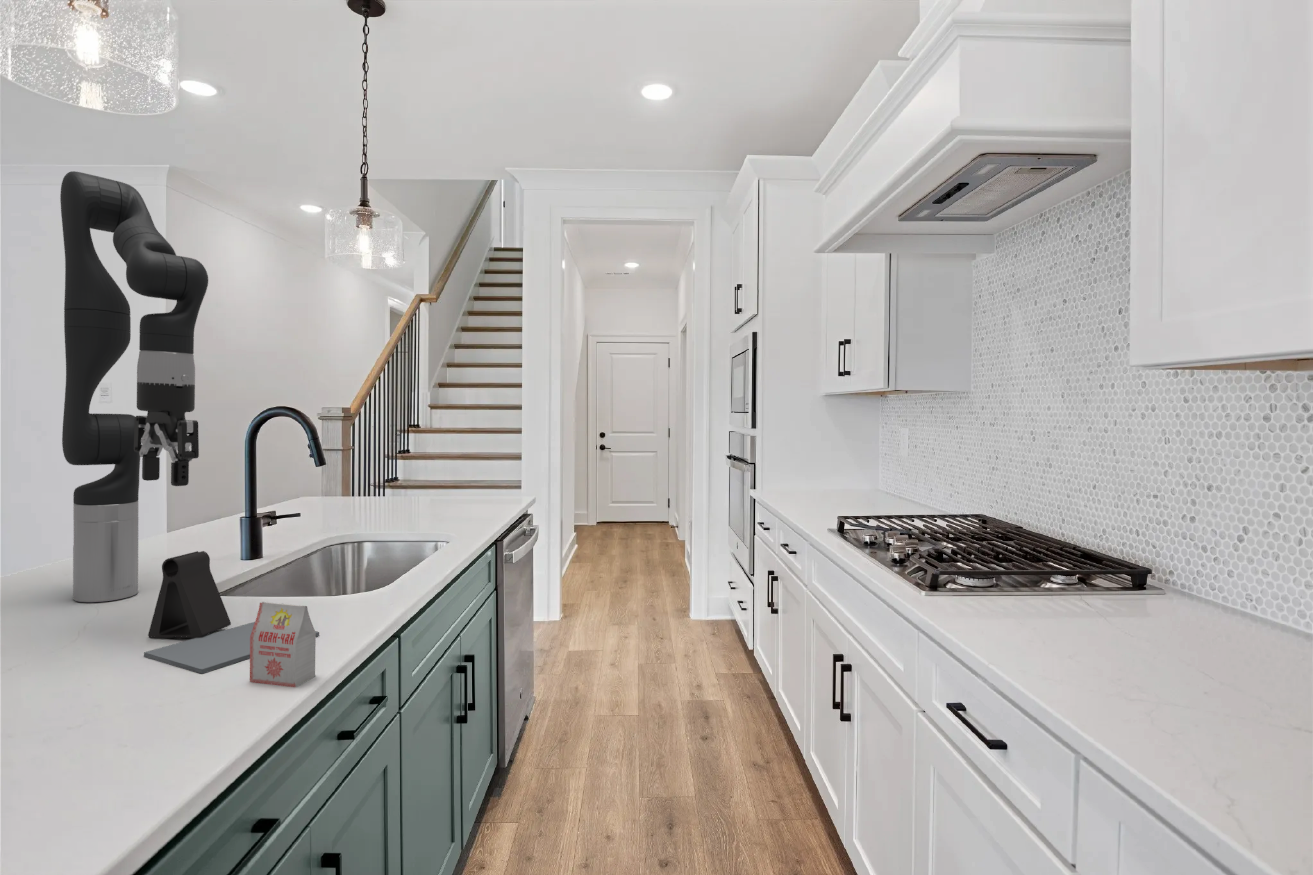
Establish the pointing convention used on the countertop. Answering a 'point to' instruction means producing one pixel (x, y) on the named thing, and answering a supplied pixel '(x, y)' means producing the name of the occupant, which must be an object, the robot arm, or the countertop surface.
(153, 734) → the countertop surface
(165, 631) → the phone stand
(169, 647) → the mat
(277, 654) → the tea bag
